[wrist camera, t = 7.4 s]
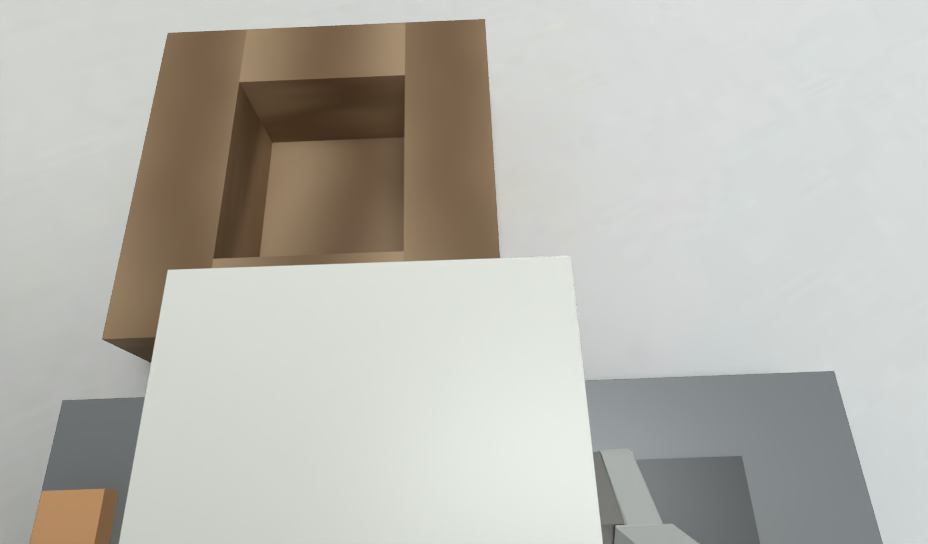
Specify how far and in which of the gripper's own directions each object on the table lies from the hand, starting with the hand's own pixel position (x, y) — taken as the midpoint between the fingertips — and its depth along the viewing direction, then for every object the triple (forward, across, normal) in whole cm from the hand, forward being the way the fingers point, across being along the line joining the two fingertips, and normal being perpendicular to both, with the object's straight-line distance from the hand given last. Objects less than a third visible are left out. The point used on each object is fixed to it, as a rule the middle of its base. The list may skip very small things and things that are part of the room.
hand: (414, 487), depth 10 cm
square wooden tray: (+15, +4, 0) cm, 16 cm away
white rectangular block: (+4, 0, +5) cm, 6 cm away
